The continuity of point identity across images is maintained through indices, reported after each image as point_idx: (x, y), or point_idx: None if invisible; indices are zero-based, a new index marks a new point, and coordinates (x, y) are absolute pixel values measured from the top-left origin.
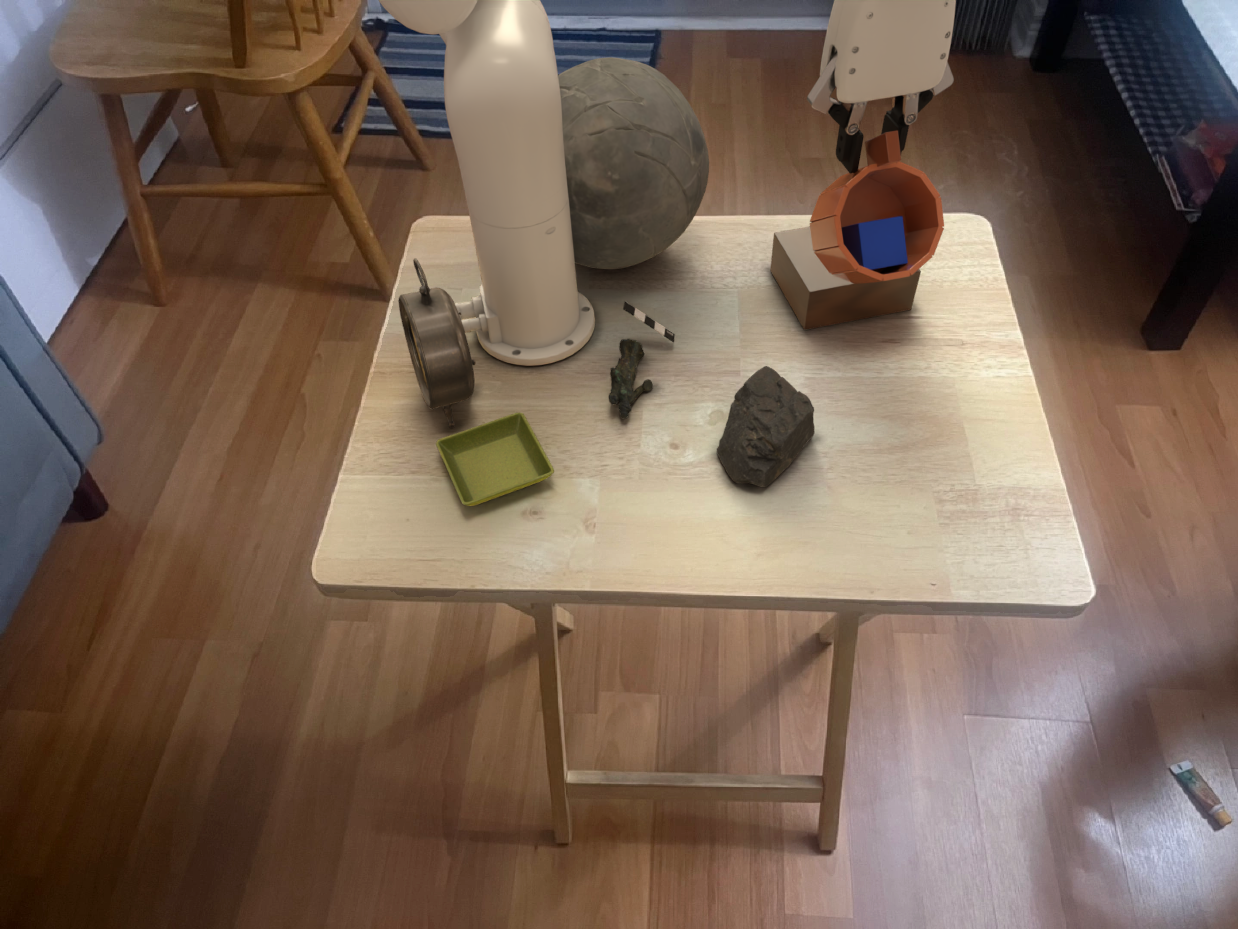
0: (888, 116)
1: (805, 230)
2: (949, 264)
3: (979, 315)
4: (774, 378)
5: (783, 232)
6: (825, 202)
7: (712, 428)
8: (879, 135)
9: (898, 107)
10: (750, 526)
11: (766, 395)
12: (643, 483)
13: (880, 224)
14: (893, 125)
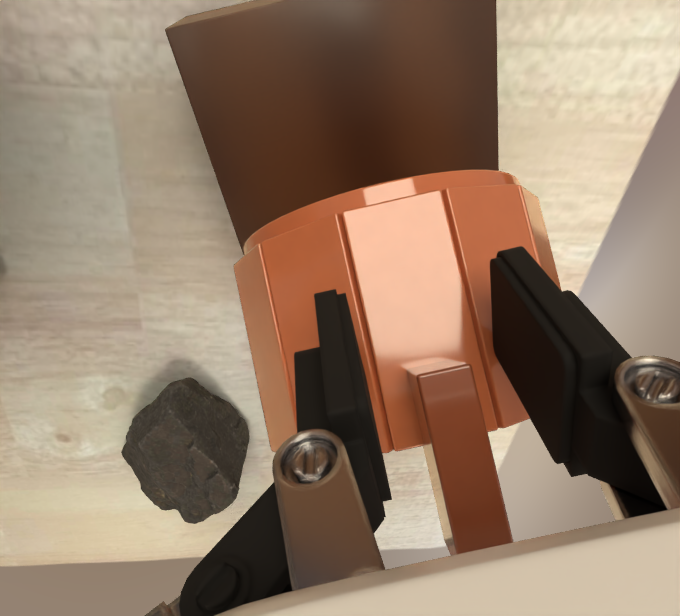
0: (566, 390)
1: (261, 26)
2: (611, 30)
3: (576, 203)
4: (183, 439)
5: (194, 32)
6: (264, 337)
7: (111, 413)
8: (451, 529)
9: (629, 446)
10: (174, 514)
11: (172, 462)
12: (37, 481)
13: None
14: (556, 426)
